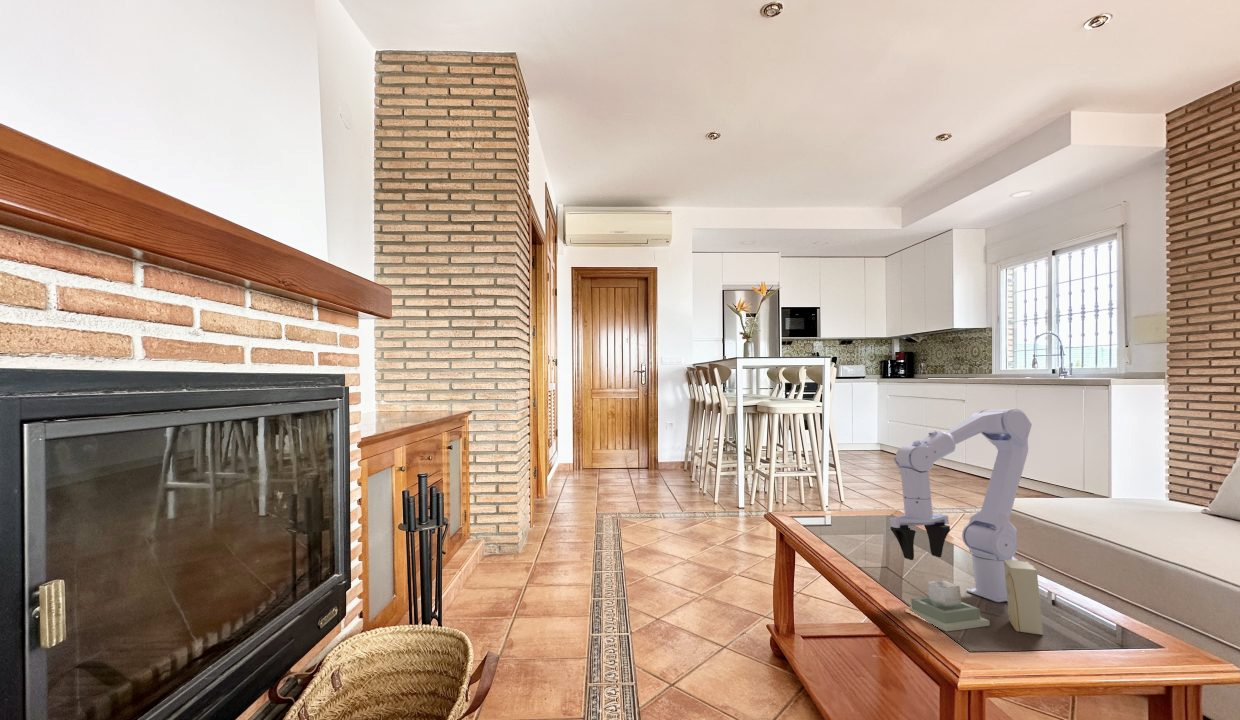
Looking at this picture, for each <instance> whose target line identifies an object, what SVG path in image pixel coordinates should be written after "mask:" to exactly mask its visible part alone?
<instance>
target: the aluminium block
mask: <svg viewBox="0 0 1240 720" xmlns="http://www.w3.org/2000/svg"><path fill="white" fill-rule="evenodd" d="M960 589H961V587H960V585H957V584H956V583H952V582H949V581H947V580H944V579H940V580H933V581H927V591H928V597H929V603H930V605H932V606H934V607H937V608H939V609H941V610H944V611H946V610H954V609H962V605H961V602H962V597H961V590H960Z"/></svg>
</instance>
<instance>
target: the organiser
mask: <svg viewBox="0 0 1240 720" xmlns="http://www.w3.org/2000/svg"><path fill="white" fill-rule="evenodd" d="M910 602H911V606H906V607H907V609H909V610H910V611H912V612H914V613H915V614H917V615H918V616H920V617H921V618H923V619H925V620H926V621H928V622H930V623H931V624H933V625H934V626H933V625H932V626H933V627H935V626H936V628H937V627H938V629H940V630H942V631H945V632H953V631H960V630H968V629H975V628H976V629H977V628H984V627H989V626H990V625H991V624H990V620H989V619H987V618H984V617H982V616H981V612H980V608H979V607H976V606H973V605H971V604H968V603H965V602H963V601H961V605H962V609H954V610H946V611H944V610H941V609H939V608H937V607H934V606H932V605H930V603H929V596H923V597H913V598H911V599H910ZM931 624H930V625H931Z"/></svg>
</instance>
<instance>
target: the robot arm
mask: <svg viewBox="0 0 1240 720" xmlns="http://www.w3.org/2000/svg"><path fill="white" fill-rule="evenodd" d="M1032 425H1033V424H1032V422H1031V421H1030V419H1029V418H1028V416H1027V415H1026V413H1025V412H1024V411H1023V410H1022V409H1019V408H1010V409H1005V408H1004V409H981V410H979V411H978V412H974V413H972V414H971V416H970V417H968V418H967V419H965V420H963V421H961V422H960V423H958V424H957V425H955V426H954V427H952V428H951V429H949V430H947V431H946V432H944V431H942V430H931V431H929V432H928V435H927V436H925V437H924V438H921V439H919V440H918V439H916V440H914V441H913V442H912V444H911V445H909V446H908V445H902V446H900V447H899V448H898V449H897V451H896V453H895V457H893V461H894V464H895V465H896V466H897V468H898V469H899V474H900V476H901V477H900V478H901V488H902V489H901V490H902V497H903V510H904V513H903V515H900V516H895V517H889V526H890V530H891V532H892V534H893V535H894V537H895V538H896V539H897V542H898V544H899V547H900V549H901V552H902V554H903V555H902V556H903V557H904V559H906V560H909V561H914V560H915V559H914V558H915V551H914V549H915V547H914V544H915V542H914V541H915V535H916V533H917V531H916V530H914V529H911V528H910V527H918V526H924V529H925V531H926V534H927V538H928V541H929V542H928V543H929V550H930V553H931V554H930V555H931V556H933V557H937V558H942V554H943V550H944V549H943V548H944V544H945V541H946V539H947V536H948V534H949V533H950V531H951V526H950V525H949V524H950V521H949V515H946V514H942V513H940V514H938V513H937V514H934V513H933V504H932V494H931V493H932V492H931V483H930V482H931V481H930V473H929V471H931V469H932V468H933V467H934V464H935V463H936V462H937V461H939V460H941V459H942V458H945V457H946V456H948V455H951V454H952V453H954V452H955V450H956V445H957V444H960V443H962V442H964V441H966V440H968V439H971V438H972V437H974V436H976V435H977V436H978V434H981V435H982V436H983V437H985V439H987V441H989V443H991V444H992V445H993V446H995V447H996V450H997V454H996V456H995V457H996V458H995V461H994V464H993V468H992V472H991V474H990V478H989V481H988V485H987V488H986V493H985V496H984V499H983V502H982V506H981V510H980V511H978V512H976V513H974V514H973V515H972V516H971V517H970V518H969V521H968V523H967V524H966V525H965V526H964V528H963V530H962V534H961V537H962V542H963V543H964V545H965V546H966V547H967V548H969V553H971V557H972V566H973V577H974V584H975V585H974V586H975V587H974V588H966V592H967V593H971V594H973V595H976V596H979V597H982V598H984V599H987V600H990V601H992V602H996V603H1004V602H1008V601H1007V590H1006V579H1005V569H1004V559H1005V560H1014V561H1019V560H1018V559H1017V558H1016V557H1014V555H1015V554H1016V552H1017V551H1018V549H1017V548H1018V541H1017V535H1018V529H1017V528H1016V526H1015V525H1014V524H1013V523H1012V522H1011V521H1010V518H1011V515H1012V511H1013V507H1014V503H1015V499H1016V497H1017V492H1018V489H1019V486H1020V482H1021V478H1022V474H1023V471H1024V467H1025V463H1026V460H1027V456H1028V453H1029V436H1030V433H1031V428H1032Z"/></svg>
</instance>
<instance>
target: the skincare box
mask: <svg viewBox="0 0 1240 720" xmlns="http://www.w3.org/2000/svg"><path fill="white" fill-rule="evenodd" d="M1004 569H1005V579H1006V590H1007V601H1006V602H1007V611H1008V612H1007V613H1008V620H1009V622H1010V624H1011V626H1012V627H1013V629H1014V631H1016V632H1021V633H1026V634H1027V633H1028V634H1031V635H1032V634H1034V635H1040V636H1041V635H1044V631H1043V628H1044V627H1043V621H1042V619H1043V618H1042V610H1041V600H1040V599H1041V598H1040V588H1039V579H1038V570H1037V568H1035V567H1034V565H1032V564H1031V563H1030V562H1029V561H1022V560H1018V561H1014V560H1005V559H1004Z"/></svg>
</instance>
